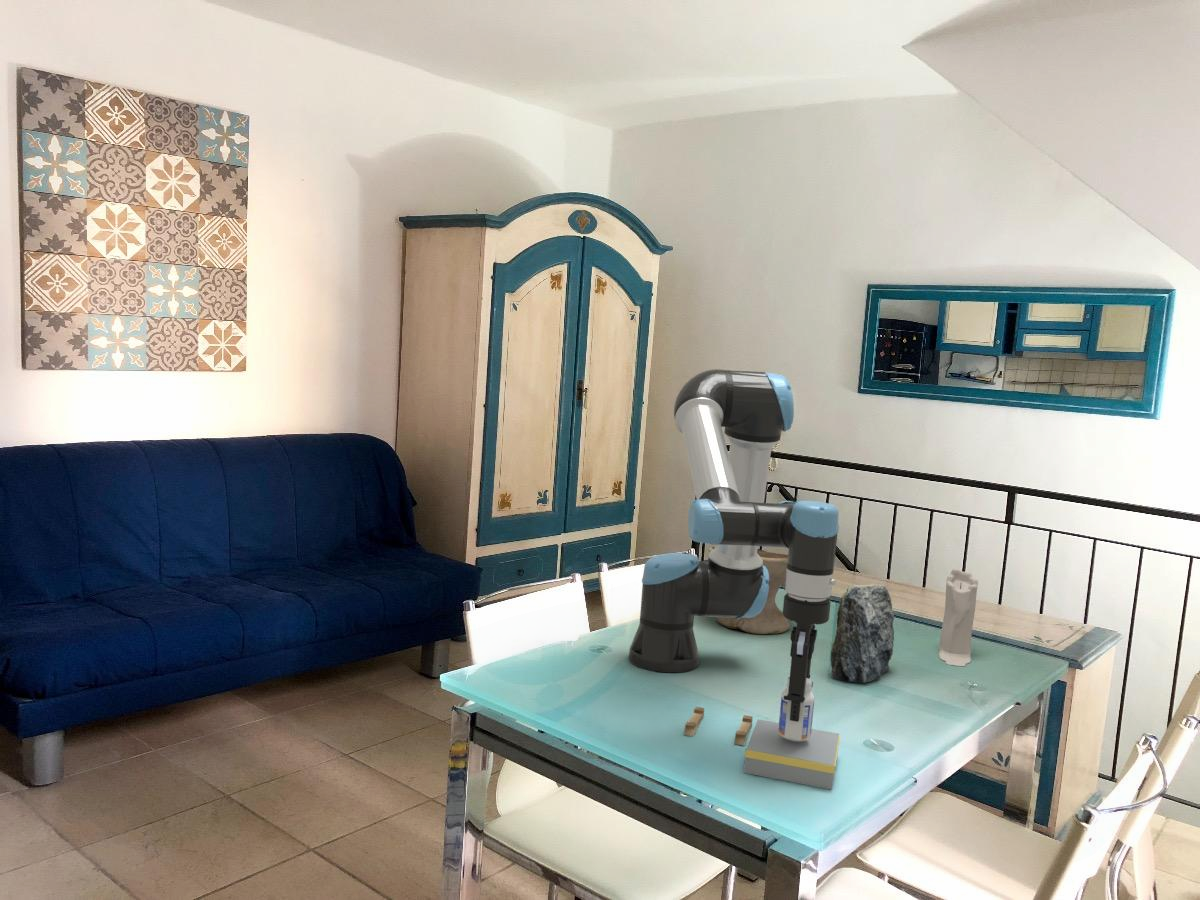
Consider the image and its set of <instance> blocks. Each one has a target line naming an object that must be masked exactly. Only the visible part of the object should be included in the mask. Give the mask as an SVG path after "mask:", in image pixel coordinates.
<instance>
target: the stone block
mask: <svg viewBox="0 0 1200 900" xmlns="http://www.w3.org/2000/svg"><path fill="white" fill-rule="evenodd" d="M836 616H837V617H836V630H835V636H834V639H833V643H832V646H831V650H830V664H831V665H830V667H831V674H832V676H831V677H830V678H832V679H835V680H840V681H844V682H852V683H853V682H855V683H863V684H864V683H869V682H872V681H875V680H877V679H878V680H879V679H881V678H882V675H883V674H884V673H887V671H888V670H889V669H890V666H889V662H890V660H892V655H893V654H894V646H895V645H894V641H895V629H894V620H895V618H894V617H895V616H894V611H893V604H892V597H891V595H890V592H889V591H888V589H887V587H886V586H885V585H884V584H876V583H872V584H862V585H861V584H859V585H857V584H852V585H850V586H848V588H846V592H844V593H843V594H842V596H841V599H840V602H839V605H838V610H837V612H836Z"/></svg>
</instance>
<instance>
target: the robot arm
mask: <svg viewBox="0 0 1200 900" xmlns="http://www.w3.org/2000/svg"><path fill="white" fill-rule="evenodd" d="M794 405H795V403H794V395H793V390H792V387H791V384H790V382H789V380H788V379H787V378H786V376H784V375H782V374H779V373H774V372H773V373H771V372H768V371H767V372H766V371H749V370H730V369H729V370H728V369H726V370H725V369H720V368H718V369H717V368H714V369H708V370H705V371H702V372H700V373H698V374H696V375H694V376H693V377H691V378H690V379H689V380H688V381H686V383H685V384H684V385H682V387H681V389H680V390H679V392H678V394H677V396H676V398H675V401H674V405H673V417H674V422H675V426H676V429H677V430H678V431H679V433H681V434H682V436H683V441H684V445H685V449H686V455H687V461H688V465H689V469H690V474H691V479H692V483H693V484H692V485H693V488H694V494H695V498H696V499H694V500H693V501H692V502H691V503H690V506H689V509H688V517H687V524H688V535H689V537H690V539H691V541H693V542H695V543H701V544H709V545H713V546H716V547H714V548H715V549H714V550H712V551H711V552H710V553H708V554H709V555H708V562H707V561H706V562H705V561H704V562H701V561H700V560H699V557H698V555H696V554H693V553H683V552H670V553H664V554H663V553H662V554H657V555H655V556H652V557H650V558H649V559H648V560H647V561H646V562H645V564H644V566H643V572H642V573H643V575H642V578H641V582H642V587H641V588H642V589H641V599H640V600H641V601H640V602H641V603H640V613H639V614H640V615H639V624H638V627H637V629H636V632H635V634H634V637H633V638H632V641H631V644H630V646H629V653H628V660H629V661H630V662H631V663H632V664H633V665H636V666H637V667H639V668H642V669H646V670H650V671H655V672H661V673H685V672H688V671H689V672H690V671H692V670H694V669H696V668H697V667H698V666H699V659H700V653H699V648H698V645H697V642H696V641H697V640H696V636H695V632H694V622H695V621H694V619H695V617H706V618H707V617H709V618H710V617H712V618H717V617H727V618H736V619H740V618H752V617H755V616H757V615H758V614H759V613H760V612H761V611H762V609H763V608H764V606H765V603H766V600H767V596H768V591H769V585H768V583H769V573H768V570H767V568H766V567H765V566H763V560H762V558H761V557H760V556H759V555H758V554H757V550H759V549H758V547H767V548H768V547H769V548H772V547H773V548H785V549H788V550H787V551H788V553H787V555H788V563H787V568H786V579H785V584H784V591H785V592H786V594H784V596H783V605H782V612H783V616H784V617H785V618H786V619H787V620H788V621H792V622H795V624H796V626H793V627H792V630H791V632H790V641H791V646H790V653H789V655H790V657H791V659H790V660H791V661H790V670H789V677H790V679H789V690H788V694H787V696H784V700H788V704H787V714H786V725H785V736H784V737H785V738H791V739H796V740H801V738H802V728H803V717H804V707H805V697H804V695H805V686H806V678H808V679H810V680H811V665H812V657H813V654H814V651H815V644H816V641H817V637H818V629H816V625H824V624H826V623H827V622H829V620H830V612H831V600H830V597H831V595H832V586H835V585H837V580H836V579H835V578H833V577H834V576H833V575H834V569H835V559H836V550H837V541H838V532H839V529H840V524H839V512H840V511H839V509H838V507H837V506H836V505H834V504H832V503H827V502H825V501H819V500H818V501H816V500H798V501H792V500H783V501H780V502H777V503H773V502H771V503H770V502H765V499H766V489H767V483H768V476H769V470H770V469H769V468H770V462H771V454H772V448H773V447H774V446H775V445H776V444H778V443H779V442H780V441H781V436H782V432H786V431H790V429H791V428H792V425H793V422H794V416H795V415H794V414H795V406H794ZM723 428H724V432H723ZM724 435H725V437H726V438H727V440H728V441H729V442H730V443H729V444H730V445H729V451H728V448H727V443H726V439H725V437H724ZM813 685H814V682H813V681H812V688H813V687H814V686H813Z"/></svg>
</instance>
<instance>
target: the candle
mask: <svg viewBox="0 0 1200 900" xmlns="http://www.w3.org/2000/svg"><path fill="white" fill-rule="evenodd" d="M978 584H979V580H978V579H977V578H974V577H973V576H972V574H971V573H970V572H966V571H962V570H959V569H955V568H954V569H952V570H951V571H950V574H949V575H948V576H947V577H946V584H945V599H944V600H945V602H944V613H943V619H942V625H941V632H940V636H939V637H940V638H939V644H938V645H939V646H938V657H939V659H940V660H941V661H942V662H945V664H946V665H948V666H949V665H950V666H957V667H965V666H966V665H968V664H970V663H971V661H972V657H971V656H972V634H973V626H974V625H973V624H974V619H975V613H976V612H975V611H976V604H977V594H978V593H977V592H978Z"/></svg>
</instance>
